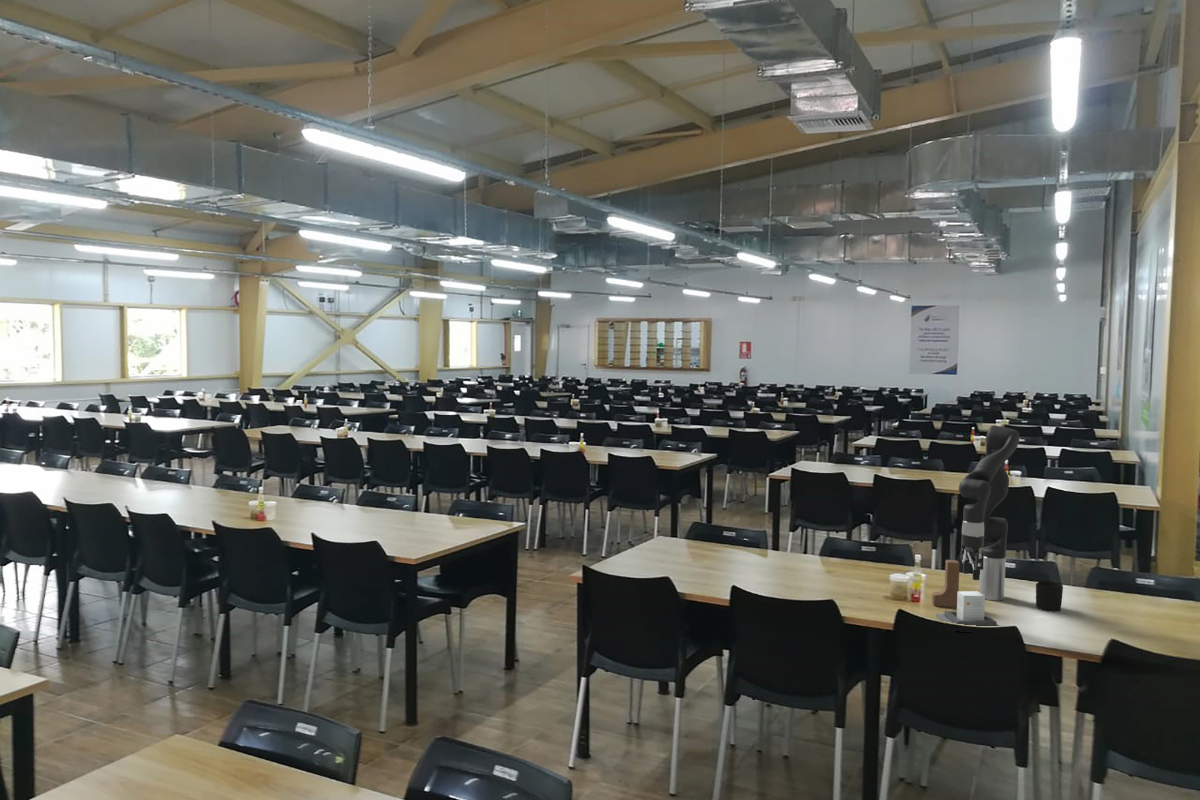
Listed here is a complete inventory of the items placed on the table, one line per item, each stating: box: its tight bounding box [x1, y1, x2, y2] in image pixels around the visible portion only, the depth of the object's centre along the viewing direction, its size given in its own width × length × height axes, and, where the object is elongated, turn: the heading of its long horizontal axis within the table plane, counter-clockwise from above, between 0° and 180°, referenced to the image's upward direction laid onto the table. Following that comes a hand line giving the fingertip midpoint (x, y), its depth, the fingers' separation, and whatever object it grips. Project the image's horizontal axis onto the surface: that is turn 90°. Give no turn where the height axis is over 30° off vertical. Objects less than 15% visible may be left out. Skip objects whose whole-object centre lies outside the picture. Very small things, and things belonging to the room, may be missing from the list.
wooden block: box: [931, 559, 961, 609], centre depth 335 cm, size 9×4×18 cm, turn 78°
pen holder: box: [1035, 580, 1064, 613], centre depth 333 cm, size 9×9×10 cm
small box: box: [956, 590, 986, 620], centre depth 312 cm, size 8×6×10 cm
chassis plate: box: [935, 610, 1000, 626], centre depth 312 cm, size 18×18×3 cm
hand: (970, 576), depth 312 cm, fingers open, 8 cm apart
